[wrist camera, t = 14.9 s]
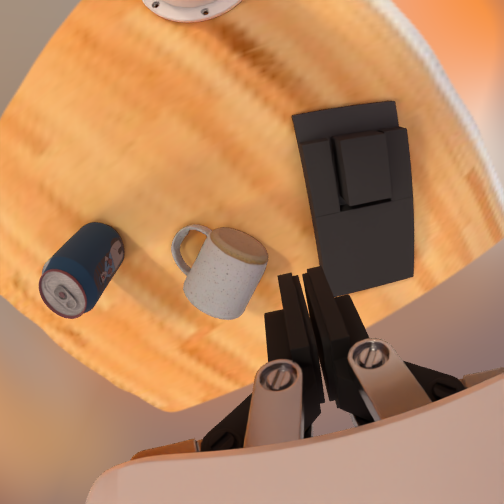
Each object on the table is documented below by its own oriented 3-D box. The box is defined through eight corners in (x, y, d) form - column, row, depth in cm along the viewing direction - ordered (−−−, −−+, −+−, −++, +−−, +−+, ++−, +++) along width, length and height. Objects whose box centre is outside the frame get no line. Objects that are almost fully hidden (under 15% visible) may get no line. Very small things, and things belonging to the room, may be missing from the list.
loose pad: (330, 136, 32) (339, 140, 29) (372, 129, 32) (385, 133, 29) (340, 196, 35) (349, 206, 32) (380, 188, 35) (392, 197, 32)
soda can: (71, 237, 38) (24, 286, 27) (103, 207, 36) (55, 252, 25) (104, 276, 40) (67, 332, 30) (138, 249, 39) (104, 306, 28)
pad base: (291, 115, 32) (295, 116, 29) (392, 100, 31) (402, 101, 28) (322, 286, 42) (327, 299, 39) (405, 266, 41) (413, 276, 38)
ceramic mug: (271, 239, 38) (275, 271, 31) (243, 292, 42) (242, 330, 35) (187, 204, 36) (173, 230, 29) (165, 262, 40) (150, 296, 33)
